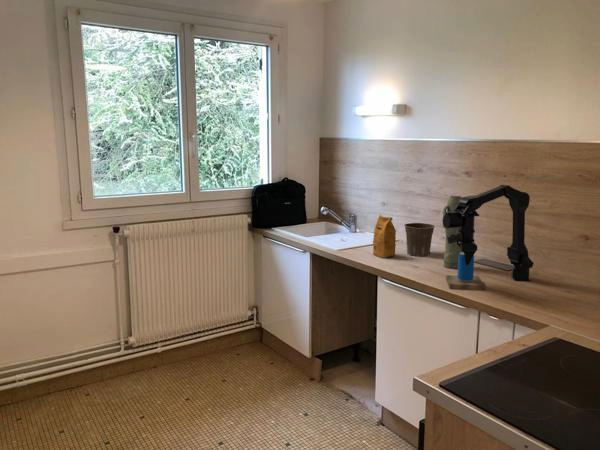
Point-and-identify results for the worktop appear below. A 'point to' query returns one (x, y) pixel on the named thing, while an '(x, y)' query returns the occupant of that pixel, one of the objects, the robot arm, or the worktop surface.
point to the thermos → (451, 249)
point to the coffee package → (384, 238)
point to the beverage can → (465, 268)
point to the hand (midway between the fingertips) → (465, 262)
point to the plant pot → (419, 238)
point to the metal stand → (464, 283)
